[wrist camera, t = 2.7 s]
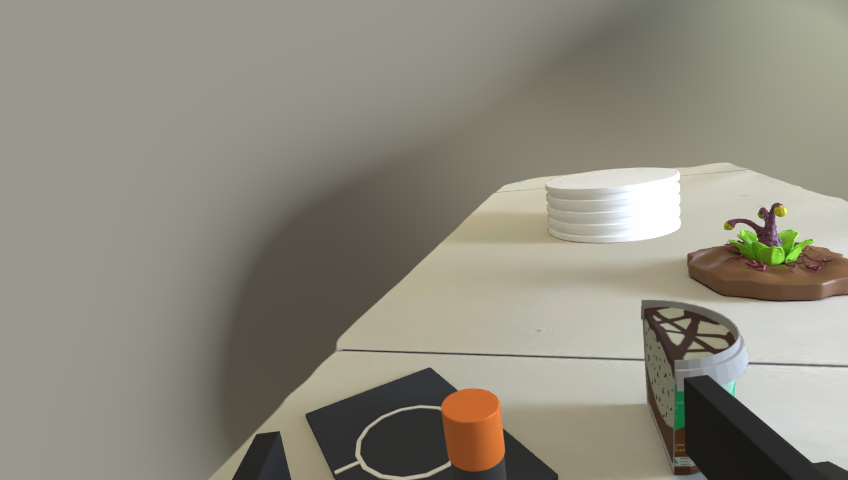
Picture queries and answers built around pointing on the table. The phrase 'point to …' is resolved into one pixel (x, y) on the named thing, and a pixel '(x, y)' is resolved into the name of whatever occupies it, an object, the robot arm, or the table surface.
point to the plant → (770, 264)
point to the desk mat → (402, 434)
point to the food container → (685, 365)
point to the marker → (474, 435)
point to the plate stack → (614, 205)
